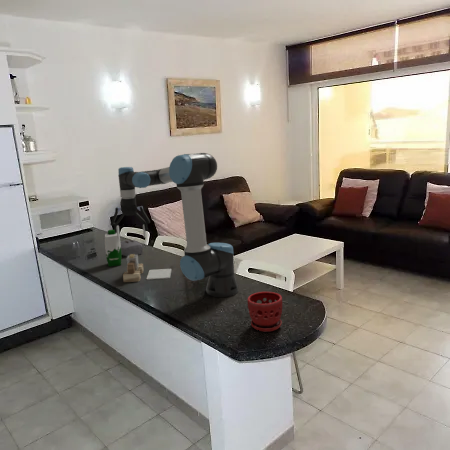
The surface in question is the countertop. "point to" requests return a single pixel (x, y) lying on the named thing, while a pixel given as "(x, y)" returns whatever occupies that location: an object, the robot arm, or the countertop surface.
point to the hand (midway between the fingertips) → (131, 237)
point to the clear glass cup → (133, 260)
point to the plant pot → (265, 311)
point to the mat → (159, 274)
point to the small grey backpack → (131, 247)
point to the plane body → (132, 273)
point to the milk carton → (112, 248)
